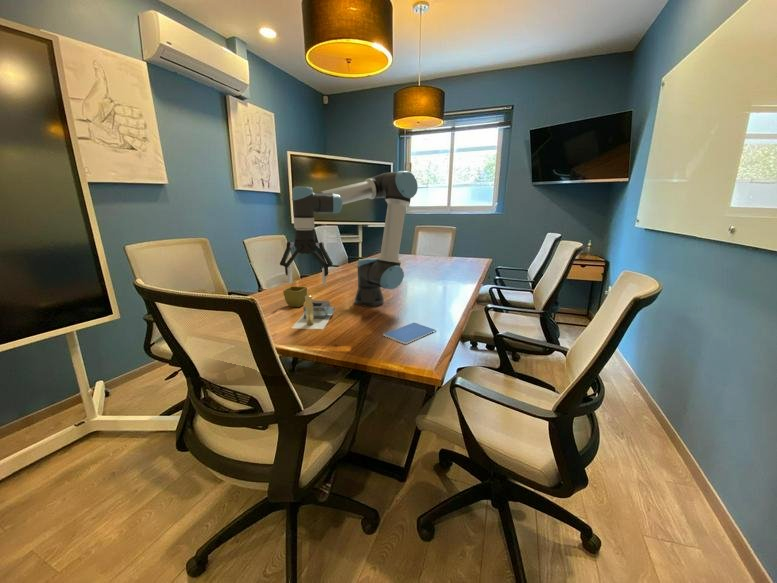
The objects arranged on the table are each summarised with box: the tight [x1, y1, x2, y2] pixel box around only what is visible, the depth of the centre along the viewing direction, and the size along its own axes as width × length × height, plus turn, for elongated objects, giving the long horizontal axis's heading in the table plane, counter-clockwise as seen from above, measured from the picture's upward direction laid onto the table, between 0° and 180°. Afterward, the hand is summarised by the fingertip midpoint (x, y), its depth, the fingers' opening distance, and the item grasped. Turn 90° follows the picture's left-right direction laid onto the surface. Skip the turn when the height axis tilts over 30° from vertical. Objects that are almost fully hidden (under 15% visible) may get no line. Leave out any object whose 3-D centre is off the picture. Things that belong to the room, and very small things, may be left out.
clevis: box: [303, 300, 336, 319], centre depth 143 cm, size 12×10×5 cm
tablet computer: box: [382, 322, 437, 345], centre depth 128 cm, size 19×13×1 cm, turn 135°
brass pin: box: [304, 294, 314, 326], centre depth 131 cm, size 3×3×12 cm
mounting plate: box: [291, 313, 333, 330], centre depth 139 cm, size 13×22×2 cm, turn 178°
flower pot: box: [282, 285, 308, 308], centre depth 160 cm, size 9×9×9 cm
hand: (307, 283), depth 128 cm, fingers open, 13 cm apart
